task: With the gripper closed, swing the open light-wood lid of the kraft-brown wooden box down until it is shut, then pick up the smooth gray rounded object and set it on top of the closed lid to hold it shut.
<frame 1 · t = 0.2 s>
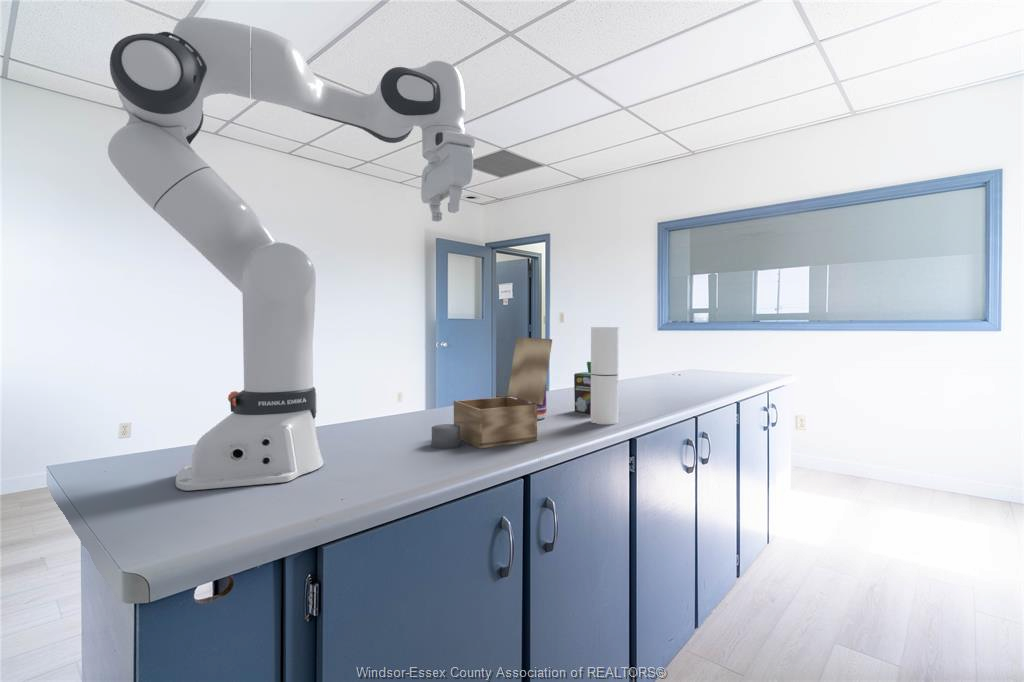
hand: (444, 216, 101), 48 cm above the worktop, fingers open, 8 cm apart
lid: (528, 369, 115), point 15 cm above the worktop, hinge at 100.0°
chalk box: (595, 412, 146), on the worktop
pill bottle: (531, 418, 136), on the worktop
box: (494, 438, 111), on the worktop
cylindrical container: (604, 422, 130), on the worktop
smooth gray rounded object: (446, 445, 105), on the worktop
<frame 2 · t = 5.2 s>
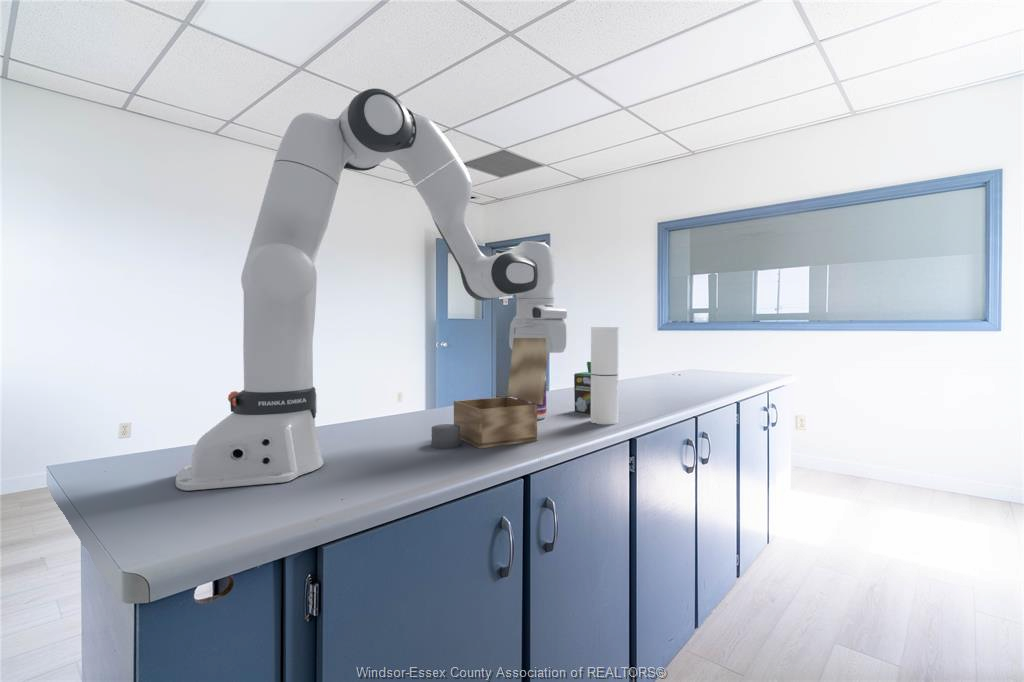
hand: (535, 370, 116), 15 cm above the worktop, fingers closed, pressing on lid
lid: (527, 368, 115), point 15 cm above the worktop, hinge at 96.8°, touching gripper
everything else where it was.
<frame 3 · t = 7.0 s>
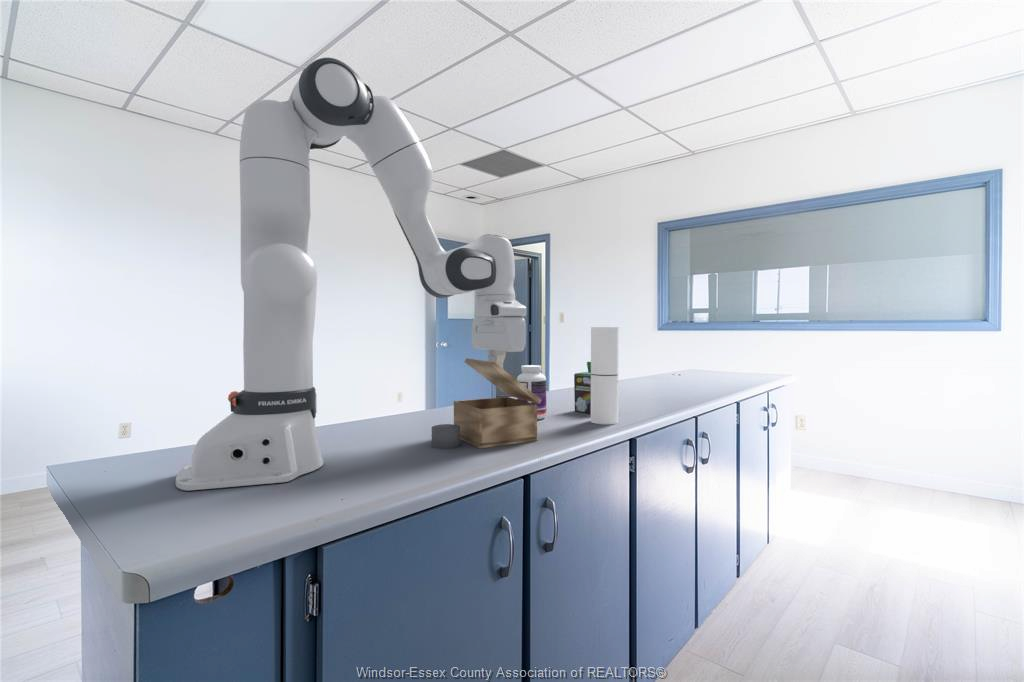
hand: (496, 370, 111), 15 cm above the worktop, fingers closed, pressing on lid
lid: (501, 380, 112), point 13 cm above the worktop, hinge at 36.9°, touching gripper
everything else where it was.
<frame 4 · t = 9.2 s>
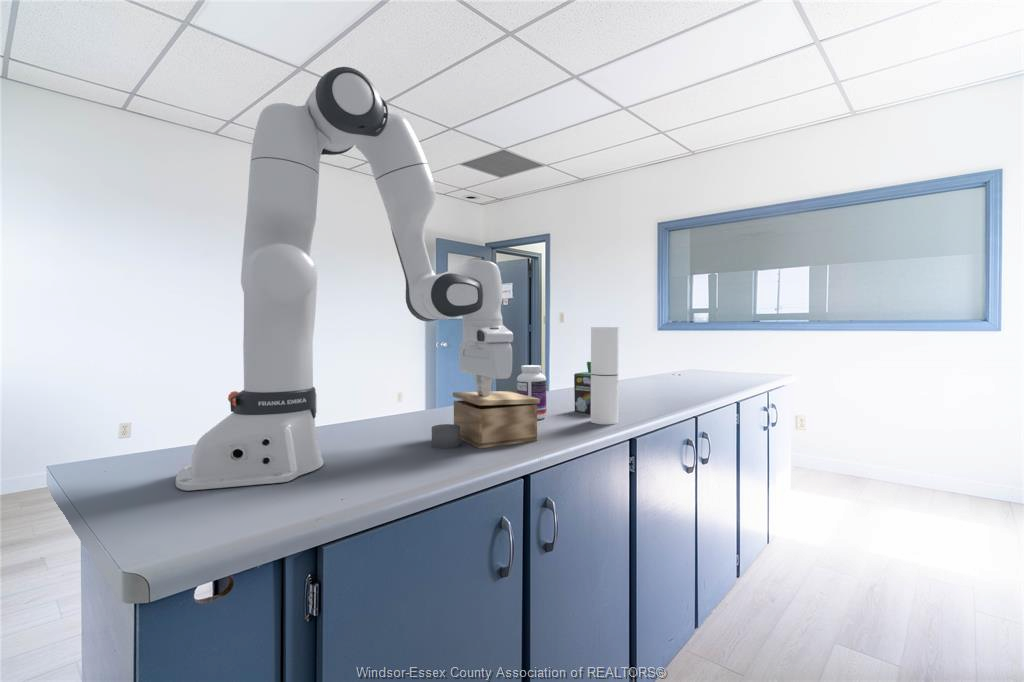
hand: (483, 395, 110), 10 cm above the worktop, fingers closed, pressing on lid
lid: (495, 397, 111), point 9 cm above the worktop, hinge at 2.7°, touching gripper
everything else where it was.
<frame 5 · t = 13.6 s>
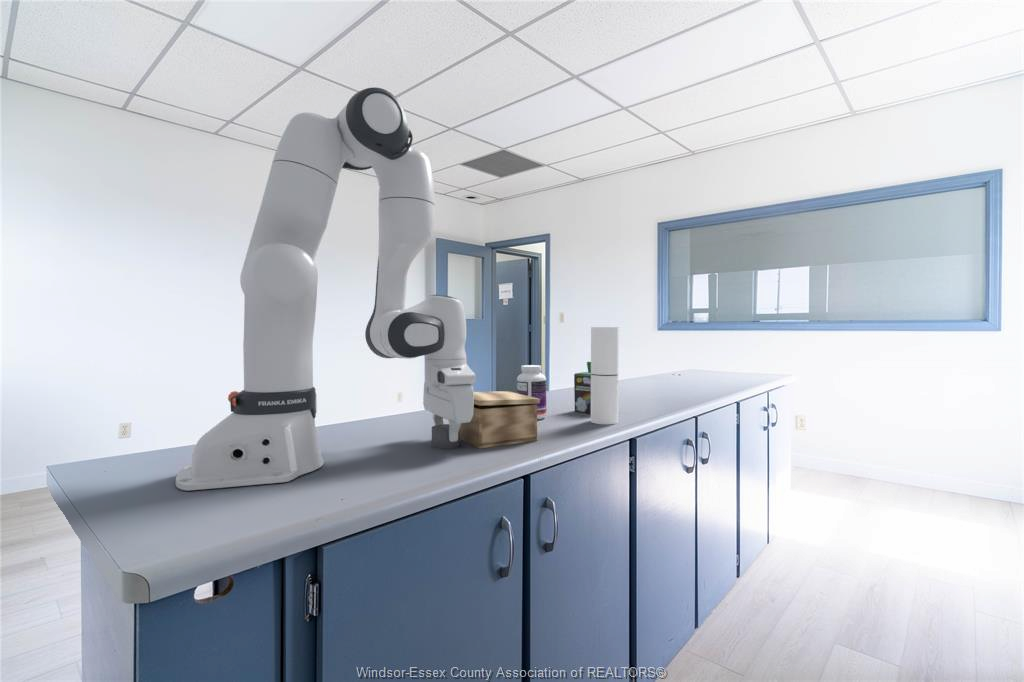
hand: (446, 437, 105), 2 cm above the worktop, fingers closed on smooth gray rounded object, 6 cm apart
lid: (495, 397, 111), point 9 cm above the worktop, hinge at 2.6°
smooth gray rounded object: (446, 445, 105), on the worktop, touching gripper
everything else where it was.
when the fingers open (13 cm above the worktop, at t = 18.3 s): smooth gray rounded object drops 1 cm, resting on lid.
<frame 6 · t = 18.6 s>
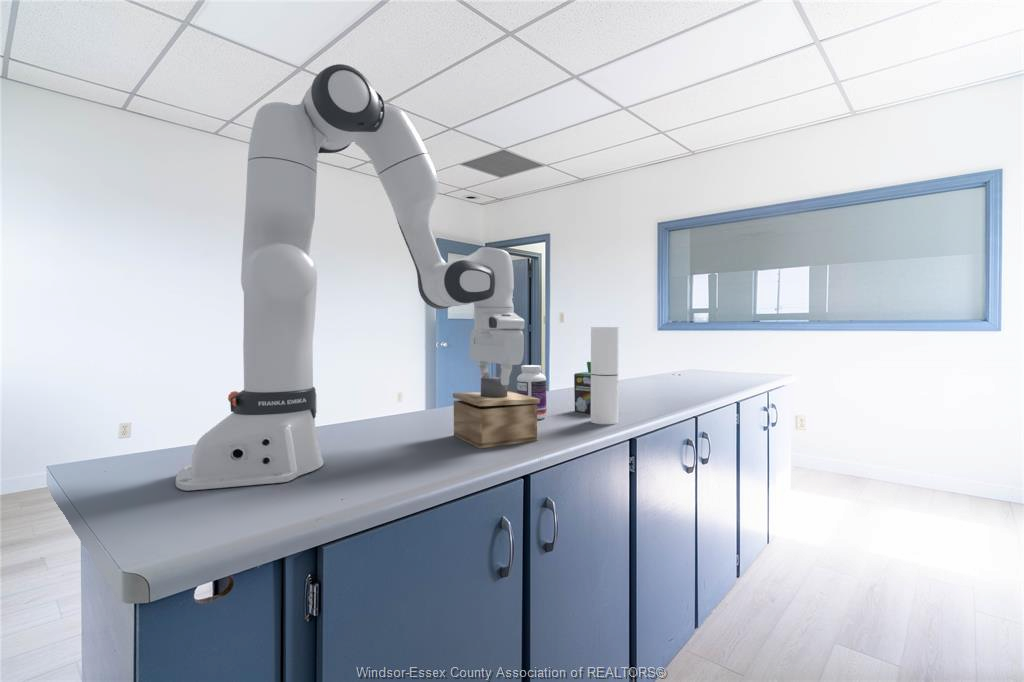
hand: (494, 382, 111), 13 cm above the worktop, fingers open, 8 cm apart
lid: (495, 398, 111), point 9 cm above the worktop, hinge at 1.9°, touching smooth gray rounded object
smooth gray rounded object: (493, 395, 111), point 10 cm above the worktop, touching lid
everything else where it was.
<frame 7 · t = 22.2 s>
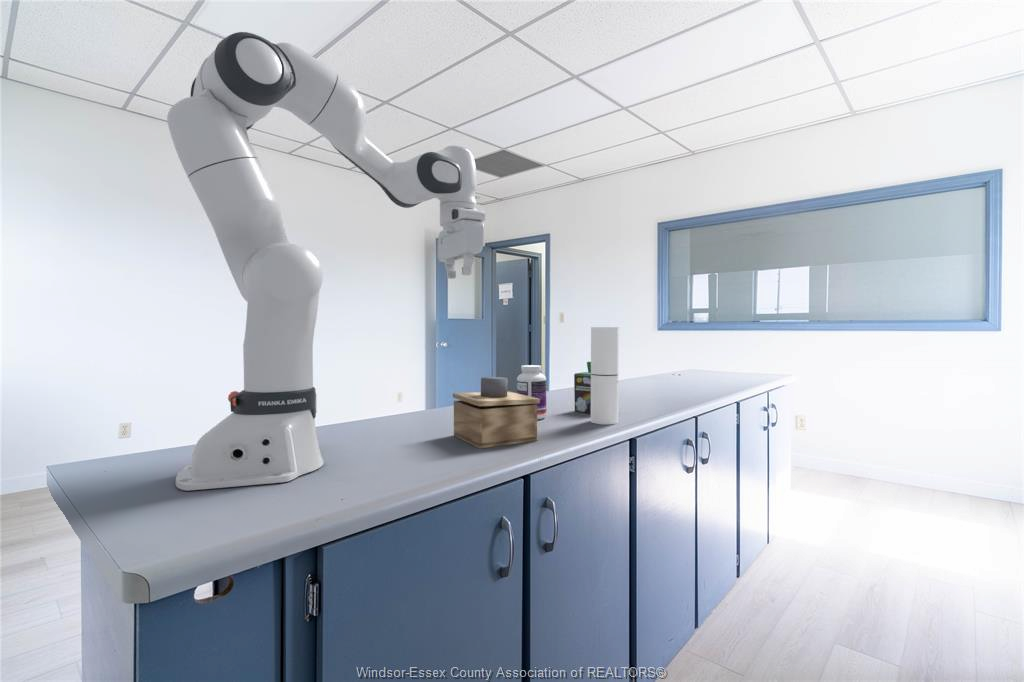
hand: (458, 276, 118), 37 cm above the worktop, fingers open, 8 cm apart
nothing on the worktop moved.
at the end: lid at +2° (first picture: +100°); smooth gray rounded object inside the target area on the box (0.1 cm from its centre), point 9.6 cm above the box's base; smooth gray rounded object tilted 2° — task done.
